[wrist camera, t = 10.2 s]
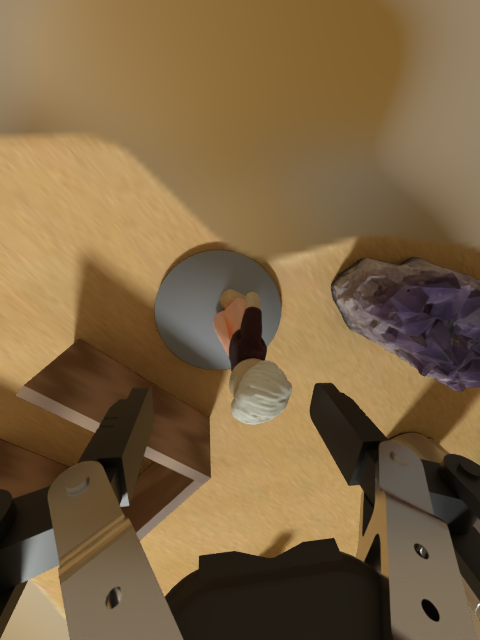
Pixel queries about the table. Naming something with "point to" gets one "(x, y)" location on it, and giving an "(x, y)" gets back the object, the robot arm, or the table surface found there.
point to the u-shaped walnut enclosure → (88, 412)
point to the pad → (210, 304)
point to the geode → (416, 315)
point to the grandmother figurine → (250, 360)
